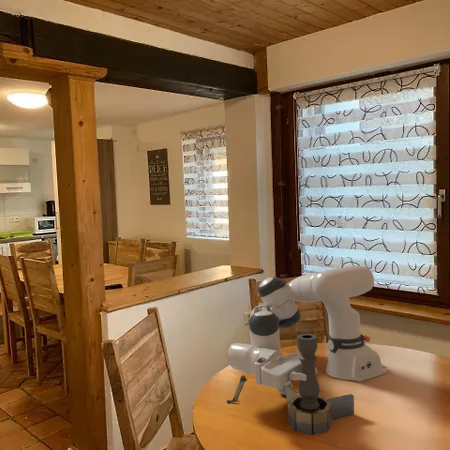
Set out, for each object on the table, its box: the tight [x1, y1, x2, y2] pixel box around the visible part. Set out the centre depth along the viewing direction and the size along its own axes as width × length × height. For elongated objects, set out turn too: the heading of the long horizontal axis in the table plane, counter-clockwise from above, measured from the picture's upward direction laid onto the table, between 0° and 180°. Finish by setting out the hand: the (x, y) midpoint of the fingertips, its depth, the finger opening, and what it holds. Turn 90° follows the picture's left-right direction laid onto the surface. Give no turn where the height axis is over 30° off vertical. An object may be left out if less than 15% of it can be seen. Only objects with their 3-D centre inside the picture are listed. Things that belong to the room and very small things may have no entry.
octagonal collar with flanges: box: [285, 384, 355, 436], centre depth 142 cm, size 20×20×6 cm
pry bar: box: [226, 375, 247, 405], centre depth 161 cm, size 21×7×1 cm, turn 166°
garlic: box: [276, 381, 294, 396], centre depth 157 cm, size 6×5×5 cm
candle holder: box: [296, 333, 321, 412], centre depth 135 cm, size 6×6×25 cm
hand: (311, 374), depth 135 cm, fingers open, 4 cm apart
